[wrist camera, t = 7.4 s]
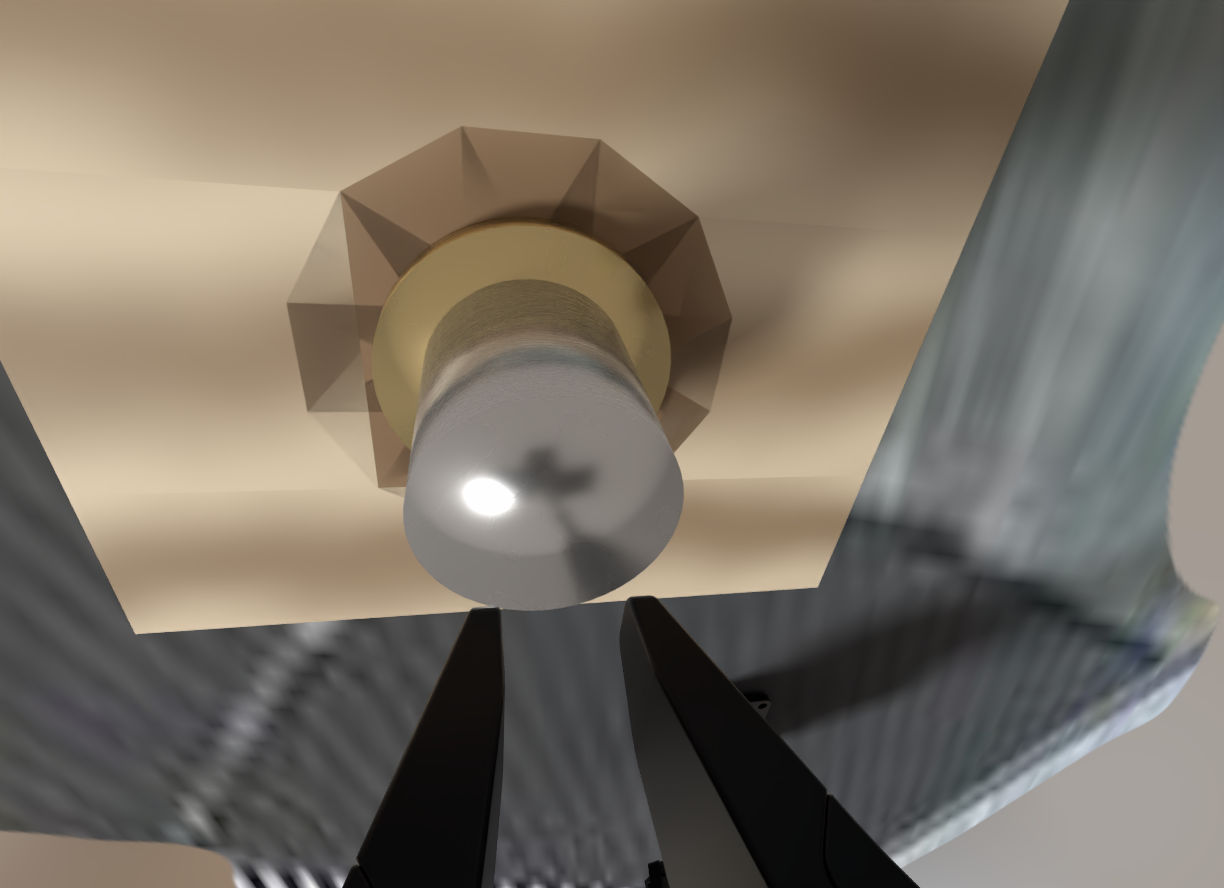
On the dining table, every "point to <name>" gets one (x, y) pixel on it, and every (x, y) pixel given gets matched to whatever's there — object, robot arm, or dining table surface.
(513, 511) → the silver and gold knob
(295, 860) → the dining table surface
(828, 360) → the jig
